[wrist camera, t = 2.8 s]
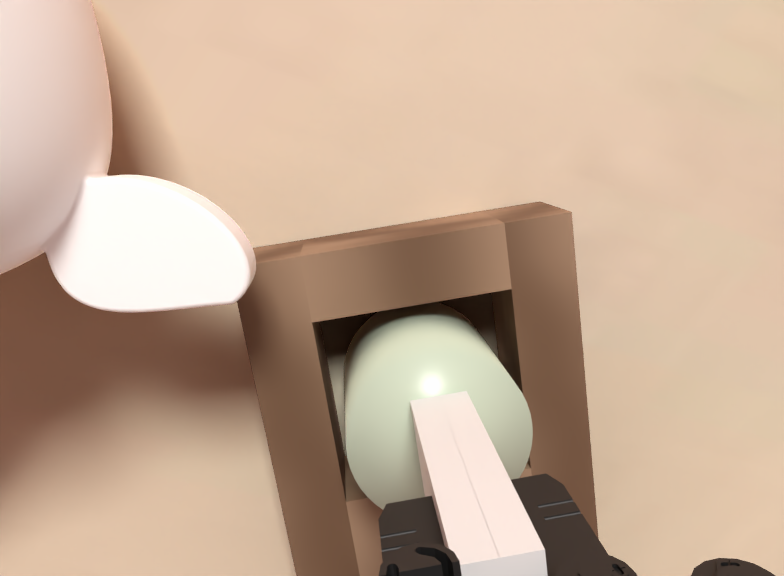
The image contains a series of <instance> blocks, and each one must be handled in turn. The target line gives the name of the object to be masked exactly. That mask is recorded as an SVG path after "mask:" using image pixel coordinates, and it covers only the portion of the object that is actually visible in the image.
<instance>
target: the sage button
mask: <svg viewBox="0 0 784 576" xmlns="http://www.w3.org/2000/svg"><path fill="white" fill-rule="evenodd" d="M463 391H467V393H468V395H469V397H470V399H471V401H472V403H473V405H474V407H475V409H476V411H477V413H478V415H479V417H480V419H481V421H482V423H483V425H484V427H485V429H486V431H487V433H488V435H489V437H490V439H491V441H492V443H493V445H494V447H495V449H496V451H497V454H498V456H499V458H500V460H501V462H502V464H503V466H504V468H505V470H506V472H507V474H508V476H509V478H510V480H512V479H517V478H520V476H521V474H522V472H523V471H524V469H525V466H526V464H527V461H528V459H529V455H530V451H531V447H532V438H533V427H532V419H531V414H530V410H529V407H528V404H527V402H526V400H525V398H524V396H523V394H522V392H521V391H520V389H519V388H518V386H517V385H516V383H515V382H514V381H513V379H512V378H511V376H510V375H509V374H508V372H507V371H506V369H505V368H504V367H503V365H502V364H501V362H500V361H499V360H498V358H497V357H496V355H495V354H494V353H493V351H492V350H491V348H490V347H489V346H488V344H487V343H486V341H485V340H484V339H483V337H482V336H481V335H480V333H479V332H478V330H477V329H476V328H475V326H474V325H473V324H472V323H471V322H470V321H469V320H468V319H467V318H466V317H465V316H464V315H462V314H461V313H460V312H458V311H456V310H455V309H453V308H451V307H449V306H446V305H444V304H440V303H437V302H432V303H426V304H420V305H414V306H408V307H402V308H396V309H390V310H384V311H379V312H378V313H376V314H375V315H373V316H372V317H370V318H369V319H368V320H367V321H366V322H365V323H364V324H363V325H362V326H361V327H360V329H359V330H358V331H357V333H356V334H355V336H354V337H353V339H352V341H351V343H350V345H349V347H348V350H347V354H346V357H345V363H344V396H345V432H346V451H347V459H348V462H349V466H350V469H351V472H352V474H353V476H354V479H355V480H356V482H357V484H358V485H359V487H360V489H361V490H362V491H363V492H364V493H365V495H366V496H367V497H368V498H369V499H370V500H371V501H372V502H373V503H374V504H376V505H377V506H378V507H380V508H381V509H383V510H384V508H385V506H386V504H388V503H393V502H399V501H405V500H410V499H416V498H421V497H425V494H424V488H423V482H422V475H421V469H420V462H419V456H418V449H417V443H416V437H415V430H414V424H413V417H412V411H411V404H410V401H411V400H417V399H422V398H428V397H434V396H440V395H446V394H451V393H457V392H463Z"/></svg>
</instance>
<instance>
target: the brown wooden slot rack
mask: <svg viewBox="0 0 784 576" xmlns="http://www.w3.org/2000/svg"><path fill="white" fill-rule="evenodd" d="M253 251H254V254H255V259H256V272H255V276H254V278H253V280H252V282H251V284H250V285H249V287H248V289H247V291H246V292H245V294H244V295H243V296H242V297H241V298H240V299H239V300H238V301H237V303H238V308H239V312H240V317H241V322H242V326H243V331H244V335H245V340H246V345H247V349H248V354H249V359H250V363H251V368H252V372H253V377H254V382H255V386H256V391H257V395H258V400H259V405H260V409H261V414H262V418H263V423H264V428H265V432H266V437H267V442H268V446H269V451H270V455H271V460H272V465H273V469H274V474H275V478H276V483H277V488H278V492H279V497H280V501H281V506H282V511H283V515H284V520H285V524H286V529H287V534H288V538H289V543H290V548H291V552H292V557H293V561H294V566H295V571H296V575H297V576H379V571H380V565H381V564H382V563H383V560H382V550H381V540H380V531H379V521H378V519H379V517H380V515H381V513H382V511H383V509H381V508H380V507H378V506H377V505H376V504H374V503H373V502H372V501H371V500H370V499H369V498H368V497H367V496H366V495H365V493H364V492H363V491H362V490H361V489H360V487H359V485H358V484H357V482H356V480H355V479H354V476H353V474H352V472H351V469H350V466H349V462H348V459H347V456H345V454H344V449H343V444H342V438H341V433H340V428H339V422H338V417H337V411H336V406H335V401H334V395H333V390H332V384H331V379H330V374H329V368H328V363H327V357H326V352H325V347H324V341H323V336H322V331H321V325H320V321H325V320H331V319H336V318H342V317H348V316H354V315H360V314H366V313H372V312H378V311H384V310H390V309H396V308H402V307H408V306H414V305H420V304H426V303H432V302H438V301H444V300H450V299H456V298H462V297H468V296H473V295H479V294H485V293H491V294H492V302H493V311H494V319H495V328H496V337H497V345H498V354H499V361H500V362H501V364H502V365H503V367H504V368H505V369H506V371H507V372H508V374H509V375H510V376H511V378H512V379H513V381H514V382H515V383H516V385H517V386H518V388H519V389H520V391H521V392H522V394H523V396H524V398H525V400H526V402H527V404H528V407H529V410H530V414H531V419H532V427H533V438H532V447H531V451H530V455H529V459H528V461H527V464H526V466H525V469H524V471H523V472H522V474H521V476H520V478H523V477H528V476H534V475H540V474H545V473H546V474H548V475H549V476H551V477H552V478H554V479H556V480H557V481H559V482H560V483H562V484H563V485H564V486H565V488H566V489H567V491H568V492H569V494H570V496H571V497H572V499H573V502H575V503H576V505H577V507H578V508H579V510H580V512H581V514H583V516H584V518H585V519H586V521H587V522H588V524H589V525H590V527H591V529H592V530H593V532H594V533H595V535H596V536H597V538H598V529H597V517H596V505H595V493H594V481H593V468H592V456H591V444H590V432H589V420H588V407H587V395H586V383H585V371H584V359H583V346H582V334H581V322H580V310H579V297H578V285H577V273H576V261H575V249H574V236H573V224H572V212H570V211H567V210H564V209H561V208H558V207H555V206H552V205H549V204H546V203H543V202H535V203H529V204H523V205H516V206H510V207H504V208H498V209H492V210H486V211H479V212H473V213H467V214H461V215H455V216H449V217H442V218H436V219H430V220H424V221H418V222H411V223H405V224H399V225H393V226H387V227H381V228H374V229H368V230H362V231H356V232H350V233H344V234H337V235H331V236H325V237H319V238H313V239H306V240H300V241H294V242H288V243H282V244H276V245H269V246H263V247H257V248H253Z"/></svg>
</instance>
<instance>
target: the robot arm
mask: <svg viewBox="0 0 784 576" xmlns="http://www.w3.org/2000/svg"><path fill="white" fill-rule="evenodd" d="M410 404H411V411H412V417H413V424H414V430H415V437H416V443H417V449H418V456H419V462H420V469H421V475H422V482H423V488H424V494H425V497H421V498H416V499H410V500H405V501H399V502H393V503H388V504H386V506H385V508H384V510H383V511H382V513H381V515H380V517H379V519H378V521H379V531H380V540H381V550H382V560H383V563H382V564H381V565H380V571H379V576H637V575H636V573H635V572H634V571H633V570H632V569H631V568H630V567H629V566H628V565H627V564H626V563H625V562H623V561H621V560H619V559H617V558H615V557H613V556H609V555H608V554H607V552H606V550H605V549H604V547H603V546H602V544H601V543H600V541H599V539H598V538H597V536H596V535H595V533H594V532H593V530H592V529H591V527H590V525H589V524H588V522H587V521H586V519H585V518H584V516H583V514H581V512H580V510H579V508H578V507H577V505H576V503H575V502H573V499H572V497H571V496H570V494H569V492H568V491H567V489H566V488H565V486H564V485H563V484H562V483H560V482H559V481H557V480H556V479H554V478H552V477H551V476H549V475H548V474H546V473H545V474H540V475H534V476H528V477H523V478H517V479H512V480H510V478H509V476H508V474H507V472H506V470H505V468H504V466H503V464H502V462H501V460H500V458H499V456H498V454H497V451H496V449H495V447H494V445H493V443H492V441H491V439H490V437H489V435H488V433H487V431H486V429H485V427H484V425H483V423H482V421H481V419H480V417H479V415H478V413H477V411H476V409H475V407H474V405H473V403H472V401H471V399H470V397H469V395H468V393H467V391H463V392H457V393H451V394H446V395H440V396H434V397H428V398H422V399H417V400H411V401H410ZM691 576H775V575H774V574H772V573H771V572H769V571H767V570H765V569H763V568H761V567H759V566H758V565H756V564H753V563H750V562H746V561H742V560H739V559H727V558H718V559H713V560H709V561H704V562H703V563H701V564H700V565H698V566H697V567H696V568H694V570H693V573H692V575H691Z"/></svg>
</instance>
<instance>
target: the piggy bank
mask: <svg viewBox="0 0 784 576" xmlns="http://www.w3.org/2000/svg"><path fill="white" fill-rule="evenodd" d="M112 136H113V131H112V106H111V95H110V87H109V79H108V73H107V68H106V62H105V56H104V51H103V47H102V42H101V38H100V33H99V29H98V24H97V21H96V17H95V13H94V9H93V6H92V2H91V0H0V275H1V274H3V273H5V272H7V271H9V270H12V269H14V268H16V267H18V266H20V265H22V264H24V263H26V262H28V261H30V260H32V259H34V258H36V257H37V256H39V255H41V254H42V253H44V252H45V253H46V255H47V258H48V261H49V264H50V267H51V269H52V271H53V273H54V276H55V278H56V279H57V281H58V282H59V284H60V285H61V287H62V288H63V289H64V290H65V291H66V292H67V293H68V294H69V295H70V296H72V297H73V298H74V299H76V300H77V301H79V302H81V303H83V304H85V305H87V306H90V307H93V308H96V309H100V310H105V311H112V312H128V313H135V312H156V311H168V310H178V309H188V308H197V307H207V306H217V305H228V304H234V303H235V302H237V301H238V300H239V299H240V298H241V297H242V296H243V295H244V294H245V292H246V291H247V289H248V287H249V285H250V284H251V282H252V280H253V278H254V276H255V272H256V259H255V254H254V251H253V248H252V246H251V244H250V242H249V240H248V238H247V237H246V235H245V234H244V232H243V231H242V230H241V228H240V227H239V226H238V225H237V224H236V222H235V221H234V220H233V219H232V218H231V217H230V216H229V215H228V214H226V213H225V212H224V211H223V210H222V209H221V208H219V207H218V206H217V205H215V204H214V203H212V202H211V201H210V200H208V199H207V198H205V197H203V196H201V195H200V194H198V193H196V192H194V191H192V190H190V189H188V188H186V187H184V186H181V185H179V184H176V183H173V182H170V181H167V180H163V179H160V178H155V177H150V176H143V175H114V176H108V175H107V173H108V169H109V164H110V158H111V151H112Z"/></svg>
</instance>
